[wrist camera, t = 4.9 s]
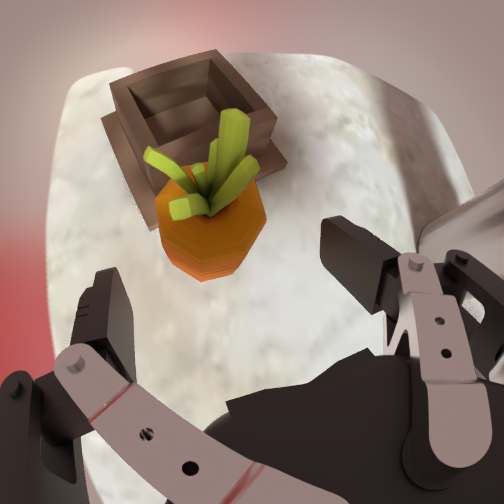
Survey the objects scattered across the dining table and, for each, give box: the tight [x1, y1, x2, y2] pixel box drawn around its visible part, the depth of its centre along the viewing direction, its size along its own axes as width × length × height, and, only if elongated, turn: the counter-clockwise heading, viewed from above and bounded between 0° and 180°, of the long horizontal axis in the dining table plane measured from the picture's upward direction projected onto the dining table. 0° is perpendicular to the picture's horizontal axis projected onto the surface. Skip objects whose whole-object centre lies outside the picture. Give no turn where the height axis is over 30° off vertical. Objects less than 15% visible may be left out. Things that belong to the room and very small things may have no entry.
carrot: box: [143, 109, 267, 282], centre depth 15 cm, size 5×5×15 cm
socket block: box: [101, 49, 287, 231], centre depth 22 cm, size 13×13×6 cm
